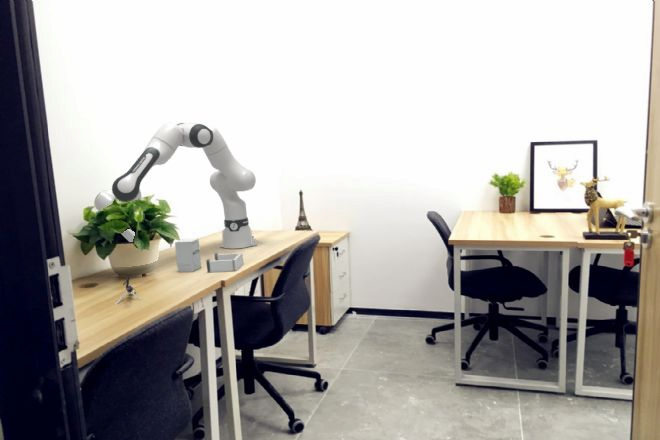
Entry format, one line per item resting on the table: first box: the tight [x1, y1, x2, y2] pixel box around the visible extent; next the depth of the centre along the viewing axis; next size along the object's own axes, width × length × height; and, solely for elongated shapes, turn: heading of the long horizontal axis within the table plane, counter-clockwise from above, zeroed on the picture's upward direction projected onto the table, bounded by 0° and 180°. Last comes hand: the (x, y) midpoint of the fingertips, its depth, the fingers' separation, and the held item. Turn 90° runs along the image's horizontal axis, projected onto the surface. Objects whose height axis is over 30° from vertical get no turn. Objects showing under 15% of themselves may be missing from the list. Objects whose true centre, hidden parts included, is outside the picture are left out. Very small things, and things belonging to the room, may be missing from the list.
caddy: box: [205, 252, 244, 273], centre depth 206 cm, size 13×12×5 cm
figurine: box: [113, 276, 144, 306], centre depth 168 cm, size 10×9×20 cm
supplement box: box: [174, 238, 202, 273], centre depth 206 cm, size 7×7×13 cm
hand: (154, 244), depth 206 cm, fingers closed
